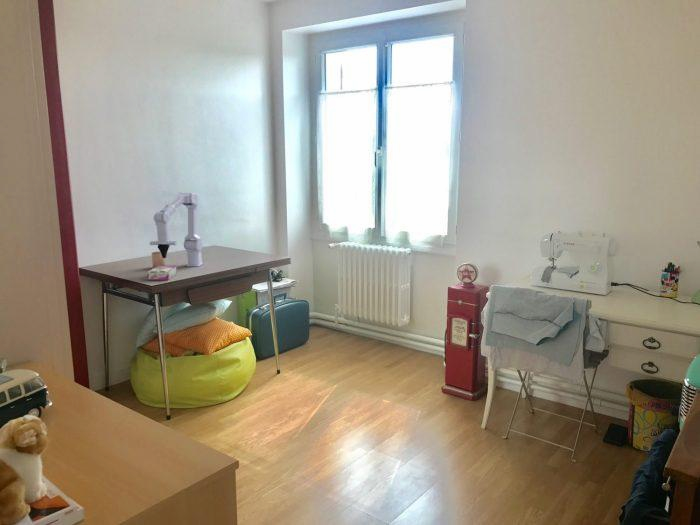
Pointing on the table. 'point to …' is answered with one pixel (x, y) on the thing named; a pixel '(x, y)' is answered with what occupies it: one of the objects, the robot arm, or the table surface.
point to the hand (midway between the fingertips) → (164, 257)
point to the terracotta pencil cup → (157, 259)
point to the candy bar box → (162, 272)
